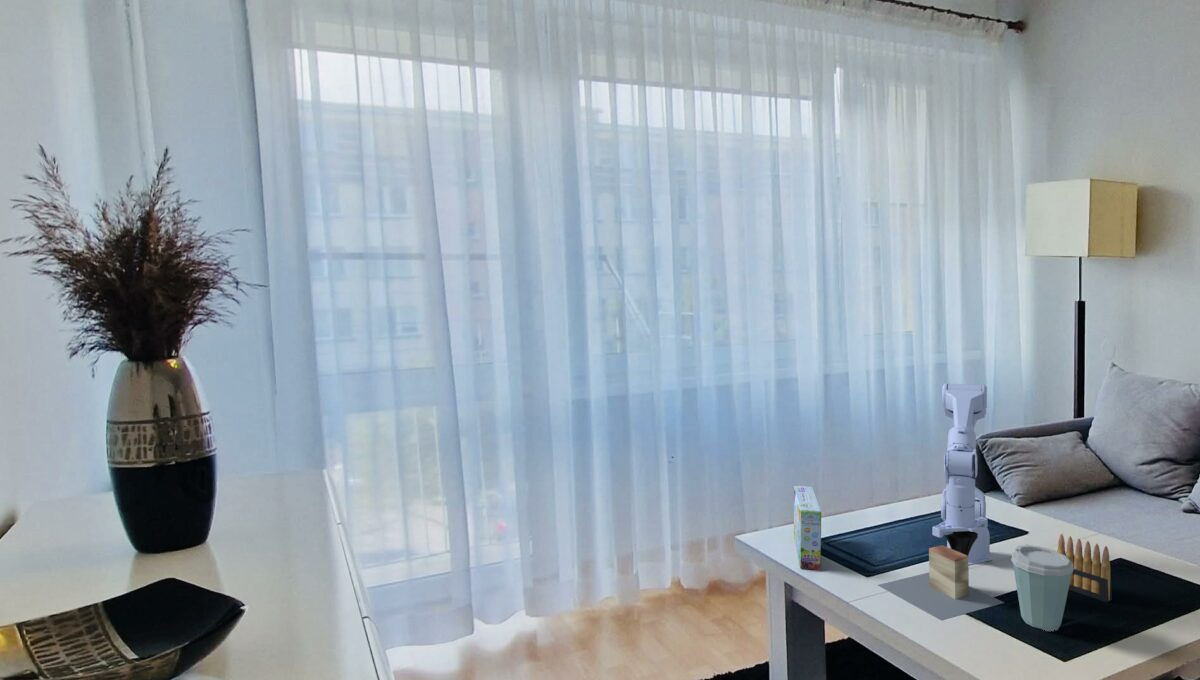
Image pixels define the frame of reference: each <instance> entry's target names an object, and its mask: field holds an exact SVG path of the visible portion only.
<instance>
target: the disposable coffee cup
mask: <svg viewBox="0 0 1200 680" xmlns="http://www.w3.org/2000/svg"><path fill="white" fill-rule="evenodd" d="M1010 560H1011V563H1012V566H1013V571H1014V578H1015V586H1016V591H1017V597H1018V602H1019V603H1018V604H1019V610H1020V617H1021V619H1022V620H1023V621H1024V622H1025V624H1027V625H1029V626H1031V627H1033V628H1035V629H1041V630H1043V631H1042V632H1051V631H1052V632H1055V631H1058V630H1059V628H1060V627H1061V625H1062V621H1063V617H1064V612H1065V607H1066V604H1067V598H1068V593H1069V584H1070V580H1071V575H1072V572H1073V570H1074V567H1073V563H1072V562H1071V561H1070V560H1069V559H1068V558H1067V557H1066V556H1065V555H1063V554H1061V553H1058V552H1057V550H1053V549H1051V548H1047V547H1043V546H1037V545H1030V544H1024V545H1023V544H1022V545H1017V546H1016V548H1014V552H1013V553H1012V554H1011V558H1010ZM1044 630H1045V631H1044ZM1054 630H1055V631H1054Z"/></svg>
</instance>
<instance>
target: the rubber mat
mask: <svg viewBox="0 0 1200 680" xmlns="http://www.w3.org/2000/svg"><path fill="white" fill-rule="evenodd" d="M877 586H878V587H879V588H882V589H884V590H885V591H887V592H889V593H891V594H892V595H895V596H896V597H898V598H899V599H902V600H903V601H905V602H907V603H909V604H910V605H912V606H914V607H916V608H918V609H919V610H921V611H924V612H925V613H926V614H929V615H930V616H931V617H934V618H935V619H938V620H940V621H944V620H947V619H951V618H954V617H959V616H962V615H966V614H969V613H972V612H973V613H974V612H978V611H980V610H983V609H987V608H991V607H995V606H998V605H1001V604H1002V605H1003V604H1005V601H1002V600H1000V599H998V598H996V597H993V596H991V595H990V594H987V593H985V592H982V591H981V590H979V589H977V588H975V587H972V586H970V585H969V595H968V596H965V597H961V598H958V599H954V598H952V597H950V596H948V595H946V594H944V593H942V592H940V591H938V590H936V589H934V588H932V587H930V585H929V572H925V573H921V574H917V575H913V576H908V577H904V578H901V579H897V580H896V579H895V580H892V581H888V582H885V583H880V584H877Z"/></svg>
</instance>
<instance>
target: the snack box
mask: <svg viewBox="0 0 1200 680" xmlns="http://www.w3.org/2000/svg"><path fill="white" fill-rule="evenodd" d="M793 539H794V544H795V547H796V553H797V559H798V563H799V564H798V565H799V568H800V569H807V570H821V568H822V567H821V566H822V565H821V563H822V561H821V560H822V558H821V557H822V510H821V507H820V504H819V500H818V498H817V495H816V493H815V489H814V487H813V486H809V485H808V486H806V485H794V486H793Z"/></svg>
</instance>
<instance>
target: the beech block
mask: <svg viewBox="0 0 1200 680" xmlns="http://www.w3.org/2000/svg"><path fill="white" fill-rule="evenodd" d="M969 569H970V568H969V565H968V556H967V555H965V554H962V553H960V552H957V551H955V550H953V549H950V548H948V547H947V545H943V544H942V545H937V546H933V547H929V548H928V573H929V585H930V587H932V588H934V589H936V590H938V591H940V592H942V593H944V594H946V595H948V596H950V597H952V598H954V599H958V598H961V597H965V596H968V595H969V586H970V585H969V583H970V580H969V578H970V577H969V576H970V574H969Z"/></svg>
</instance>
